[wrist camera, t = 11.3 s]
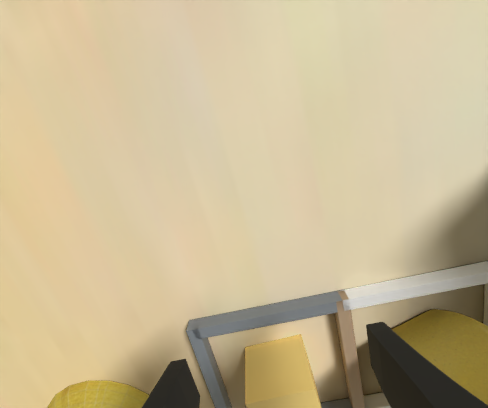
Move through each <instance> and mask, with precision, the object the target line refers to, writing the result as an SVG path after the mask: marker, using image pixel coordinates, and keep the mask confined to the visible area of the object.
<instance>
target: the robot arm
mask: <svg viewBox="0 0 488 408" xmlns="http://www.w3.org/2000/svg"><path fill="white" fill-rule="evenodd" d="M366 328H367V336H368V343H369V351H370V359H371V366H372V368H373V370H374V373H375V375H376V377H377V380H378V382H379V384H380V386H381V389H382V391H383V393H384V395H385V397H386V399H387V401H388V403H389V405H390V406H391V408H488V405H487V404H486V403H484V402H483V401H481V400H480V399H478V398H477V397H476V396H474V395H473V394H471V393H470V392H469V391H467V390H466V389H465V388H463V387H462V386H460V385H459V384H458V383H456V382H455V381H454V380H452V379H451V378H450V377H448V376H447V375H446V374H445V373H443V372H442V371H441V370H439V369H438V368H437V367H436V366H434V365H433V364H432V363H431V362H429V361H428V360H427V359H426V358H424V357H423V356H422V355H421V354H420V353H418V352H417V351H416V350H415V349H414V348H412V347H411V346H410V345H409V344H408V343H407V342H405V341H404V340H403V339H402V338H401V337H400V336H399V335H397V334H396V333H395V332H394V331H393V330H392V329H391V328H390V327H388V326H387V325H386V324H385V323H383V322H379V323H373V324H368V325H366ZM199 403H200V395H199V392H198V390H197V387H196V385H195V382H194V379H193V377H192V374H191V372H190V369H189V367H188V364H187V362H186V359H182V360H177V361H172V362H170V364H169V365H168V367H167V368H166V370H165V372H164V373H163V375H162V376H161V378H160V380H159V381H158V383H157V384H156V386H155V388H154V389H153V391H152V392H151V394H150V396H149V397H148V399H147V400H146V402H145V403H144V405H143V406H142V408H199Z"/></svg>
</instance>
